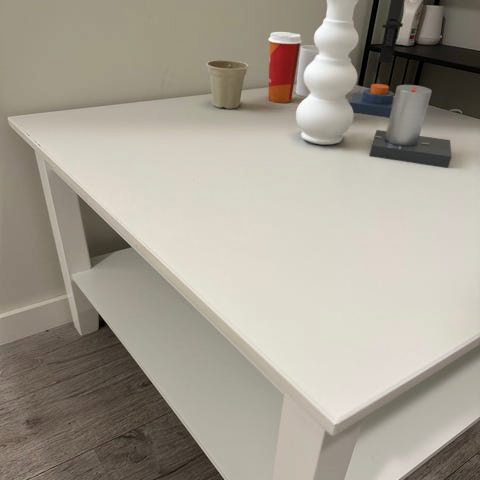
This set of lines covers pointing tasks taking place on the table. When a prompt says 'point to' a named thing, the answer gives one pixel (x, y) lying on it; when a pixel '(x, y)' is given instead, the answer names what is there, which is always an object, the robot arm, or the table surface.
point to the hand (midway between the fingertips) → (385, 61)
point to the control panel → (413, 150)
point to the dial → (407, 114)
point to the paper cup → (282, 65)
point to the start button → (379, 89)
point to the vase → (330, 77)
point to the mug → (305, 59)
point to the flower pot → (226, 82)
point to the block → (372, 103)
